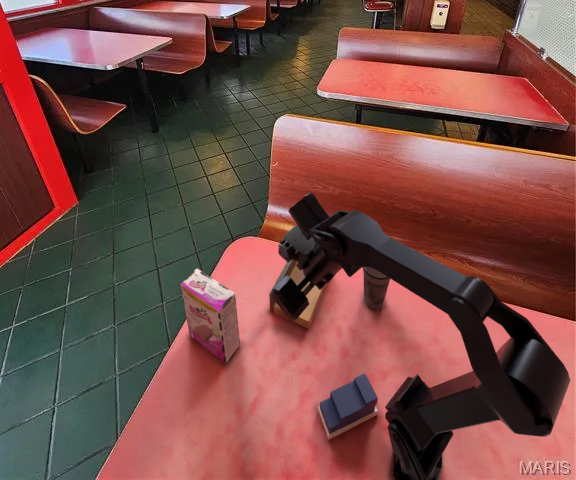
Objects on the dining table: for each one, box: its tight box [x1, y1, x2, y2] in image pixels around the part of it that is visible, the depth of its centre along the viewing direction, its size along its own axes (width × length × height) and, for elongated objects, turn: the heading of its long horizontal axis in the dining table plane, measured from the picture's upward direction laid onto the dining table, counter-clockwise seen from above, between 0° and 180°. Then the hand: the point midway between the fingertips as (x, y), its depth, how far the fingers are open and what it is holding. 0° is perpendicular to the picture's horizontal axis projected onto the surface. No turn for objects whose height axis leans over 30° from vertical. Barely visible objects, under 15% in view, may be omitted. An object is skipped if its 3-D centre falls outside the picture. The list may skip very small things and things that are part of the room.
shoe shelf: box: [268, 260, 328, 330], centre depth 82 cm, size 10×16×6 cm, turn 155°
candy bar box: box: [179, 268, 241, 365], centre depth 69 cm, size 11×5×16 cm, turn 58°
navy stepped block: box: [317, 372, 379, 440], centre depth 60 cm, size 10×4×5 cm, turn 110°
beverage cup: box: [362, 267, 391, 310], centre depth 77 cm, size 7×7×20 cm
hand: (301, 284), depth 70 cm, fingers open, 9 cm apart
